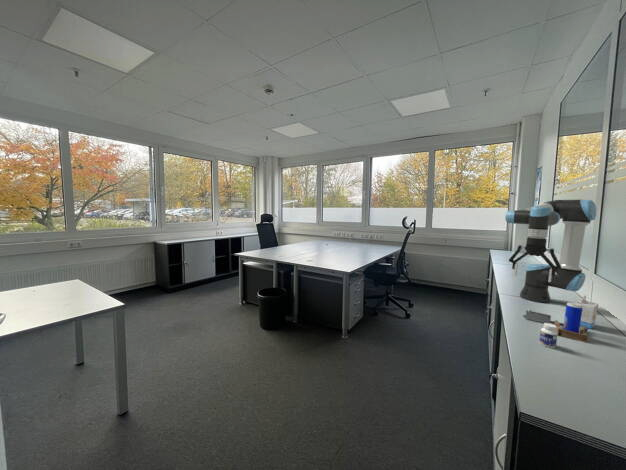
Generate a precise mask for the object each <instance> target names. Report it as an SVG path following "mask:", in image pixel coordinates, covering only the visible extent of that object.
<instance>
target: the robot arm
mask: <svg viewBox="0 0 626 470" xmlns="http://www.w3.org/2000/svg"><path fill="white" fill-rule="evenodd" d="M596 205H597V204H596V203H595V202H594V200H591V199H555V200H554V199H553V200H548V201H545V202H541V203H538V204H537V205H535V206H531V207H526V208H523V209H518V210H517V209H516V210H515V209H513V210H512V209H511V210H508V211H506V213H505V215H504V216H505V217H504V218H505V222H506V223H507V224H513V225H514V224H515V225H516V224H517V225H528V228H527V238H526V244H525V245H522V244H519V245H518V246H517V248H516V250H515V252H514V253H513V254H512V255H511V256H510V258H509V259H508V262H510V263H512V264H511V265H512V266H511V267H512V270H514V271H513V272H514V273H513V276H514V277H516V276H518V275H517V274H518V267H519V263H518V262H519V261H521V260H522V259H523V258H525V257H526V256H528V255H529V256H531V257H533V256H535V257H541V258H542V259H543V260H544V261H545V262H546V263H547V264H544V263H543V264H542V263H530V264H528V265H527V266H526V270H525V278H524V286H523V288H522V289H521V291H520V293H519V297H521V299H523V300H527V301H530V302H535V303H542V304H543V303H544V304H549V303H550V302H551V295H550V292H549V287H552V288H556V289H561V290H565V291H570V292H578V291H580V290H581V289H582V287H583V285H584V283H585V281H586V274H585V272H583V269H582V268H581V267H580V261H581V255H582V252H583V251H582V249H583V243H584V238H585V234H586V228H587V226H588V225H589V224H591V221H595V220H596V217H597V206H596ZM560 220H562V223H563V225H564V230H563V235H562V240H561V241H562V242H561V249H560V254H559V255H560V256H559V260H558V258H557V256H556V254H555V249H554V248H553V247H552V248H547V242H548V240H547V238H548V232H549V227H552V226H555V225H557V224H558V223H560ZM522 250H525V252H524V253H523V254H522V255H520V256H519V257H517V256H518V254H519V253H520V252H521V251H522ZM546 252H547V253H548V254H550V256H551V258H552V260H550V258H548V256H547V255H546V254H545V253H546ZM516 257H517V258H516ZM515 258H516V259H515ZM552 261H553V262H554V263H553V262H552Z"/></svg>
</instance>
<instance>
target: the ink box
mask: <svg viewBox="0 0 626 470" xmlns="http://www.w3.org/2000/svg"><path fill="white" fill-rule="evenodd" d="M586 299H587V295H586V294H585V295H584V296H583V297H581V302H580V304H581V305H582V307H583V309H582V315H581V321H580V326H582V327H586V328H587V329H588V330H592V328H594V327H595V326H596V320H597V316H598V315H597V314H598V309H599V303H598V302H597V303H596V302H592V301H589V300H586Z"/></svg>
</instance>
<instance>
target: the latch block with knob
mask: <svg viewBox="0 0 626 470" xmlns="http://www.w3.org/2000/svg"><path fill="white" fill-rule="evenodd" d="M525 315H526V317H524V318H525V320H529V321H533V322H534V321H535V322H538V323H542V324H544V323H549V324H551V323H550V321H552V319H551V318H552V316H551V315H549V314H546V313H541V312H536V311H532V309H530V308H528V309H527V310H525Z"/></svg>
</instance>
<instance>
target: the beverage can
mask: <svg viewBox="0 0 626 470" xmlns="http://www.w3.org/2000/svg"><path fill="white" fill-rule="evenodd" d="M582 309H583V307H582V305H581V303H577V302H572V301H568V302H567V303H566V307H565V313H564V320H563V324H564V325H563V326H562V327H563V328H562V329H563V330H567V331H571V332H576V333H579V328H580V321H581V315H582Z"/></svg>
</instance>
